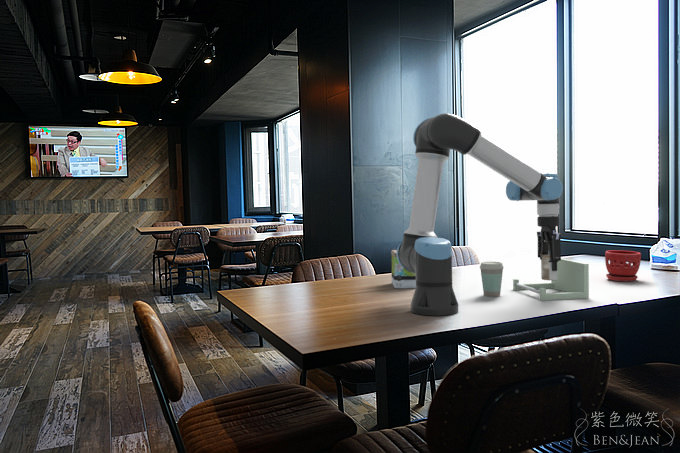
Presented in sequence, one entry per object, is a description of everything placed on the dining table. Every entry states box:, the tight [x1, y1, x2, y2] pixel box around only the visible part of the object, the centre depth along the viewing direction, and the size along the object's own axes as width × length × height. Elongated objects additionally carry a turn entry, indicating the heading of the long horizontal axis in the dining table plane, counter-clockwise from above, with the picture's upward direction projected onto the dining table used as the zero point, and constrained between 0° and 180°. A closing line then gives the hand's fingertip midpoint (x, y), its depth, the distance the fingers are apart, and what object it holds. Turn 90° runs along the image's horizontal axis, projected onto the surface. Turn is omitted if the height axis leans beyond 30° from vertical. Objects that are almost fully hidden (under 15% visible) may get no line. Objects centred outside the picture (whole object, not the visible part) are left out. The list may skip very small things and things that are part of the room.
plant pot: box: [604, 249, 642, 282], centre depth 222 cm, size 13×13×12 cm
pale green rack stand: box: [512, 257, 590, 301], centre depth 197 cm, size 17×23×12 cm
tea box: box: [390, 249, 416, 289], centre depth 224 cm, size 15×10×15 cm
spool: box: [541, 253, 550, 281], centre depth 197 cm, size 5×5×9 cm
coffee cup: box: [479, 261, 504, 298], centre depth 197 cm, size 8×8×12 cm
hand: (549, 278), depth 197 cm, fingers closed on spool, 5 cm apart
